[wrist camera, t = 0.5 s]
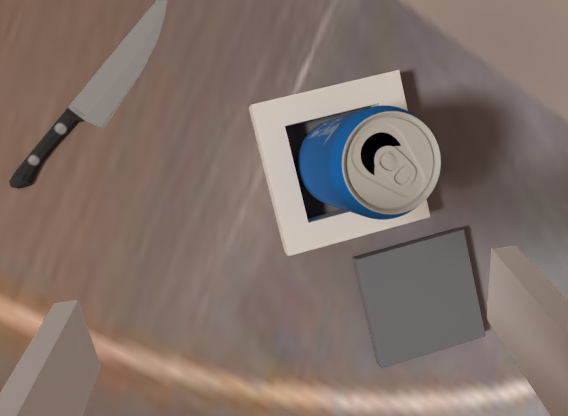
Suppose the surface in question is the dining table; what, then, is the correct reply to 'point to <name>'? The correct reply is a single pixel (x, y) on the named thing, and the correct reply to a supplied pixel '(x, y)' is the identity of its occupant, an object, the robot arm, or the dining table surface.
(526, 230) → the dining table surface
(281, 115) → the can holder
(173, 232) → the dining table surface
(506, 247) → the robot arm
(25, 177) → the chef's knife
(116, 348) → the dining table surface
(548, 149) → the dining table surface
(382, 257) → the coaster
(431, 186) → the beverage can
